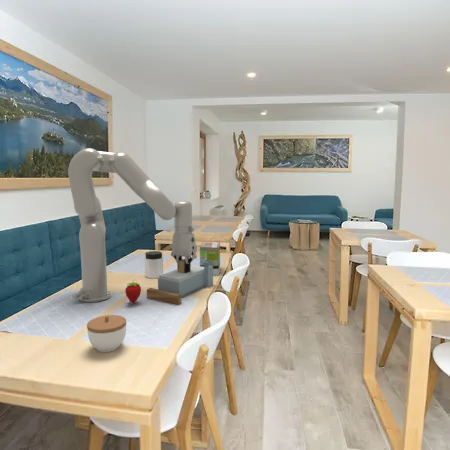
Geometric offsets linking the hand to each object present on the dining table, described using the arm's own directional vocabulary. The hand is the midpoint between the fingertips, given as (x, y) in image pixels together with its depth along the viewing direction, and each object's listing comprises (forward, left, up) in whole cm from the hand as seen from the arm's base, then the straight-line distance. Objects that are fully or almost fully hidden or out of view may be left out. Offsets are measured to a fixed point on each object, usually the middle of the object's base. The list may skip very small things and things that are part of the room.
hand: (183, 271), depth 156 cm
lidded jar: (-55, -12, -9) cm, 57 cm away
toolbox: (0, 0, -8) cm, 8 cm away
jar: (+11, +26, -9) cm, 30 cm away
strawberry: (-24, +7, -9) cm, 26 cm away
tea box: (+32, +6, -9) cm, 34 cm away
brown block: (-16, -1, -9) cm, 18 cm away
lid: (+1, 0, -1) cm, 1 cm away
